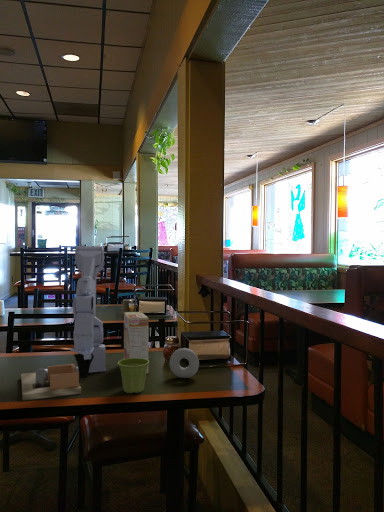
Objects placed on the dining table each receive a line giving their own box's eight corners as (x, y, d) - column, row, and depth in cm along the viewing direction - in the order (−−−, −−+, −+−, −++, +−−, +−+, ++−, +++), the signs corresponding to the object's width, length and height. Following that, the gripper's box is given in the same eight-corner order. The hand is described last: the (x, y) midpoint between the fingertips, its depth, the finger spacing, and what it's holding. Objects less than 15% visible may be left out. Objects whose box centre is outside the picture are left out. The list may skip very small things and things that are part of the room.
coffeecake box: (123, 364, 155) (123, 312, 155) (141, 362, 157) (142, 311, 157) (128, 375, 141) (128, 318, 141) (148, 373, 143) (149, 317, 143)
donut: (199, 377, 139) (199, 347, 139) (198, 380, 136) (198, 349, 136) (170, 376, 140) (170, 346, 140) (168, 379, 137) (168, 348, 137)
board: (71, 373, 142) (71, 368, 142) (81, 393, 122) (81, 387, 122) (21, 378, 136) (21, 373, 136) (22, 400, 116) (22, 394, 116)
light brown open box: (73, 376, 133) (73, 363, 133) (78, 386, 123) (78, 372, 123) (47, 379, 130) (47, 366, 130) (50, 389, 120) (50, 375, 120)
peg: (46, 387, 127) (46, 367, 127) (49, 389, 124) (49, 369, 124) (34, 388, 125) (34, 368, 125) (36, 391, 122) (37, 371, 122)
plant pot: (135, 397, 119) (135, 367, 119) (111, 391, 124) (111, 362, 124) (155, 388, 127) (155, 360, 127) (131, 383, 132) (131, 356, 132)
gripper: (67, 330, 134) (67, 372, 134) (73, 339, 121) (73, 385, 121) (89, 329, 137) (89, 370, 137) (98, 337, 124) (97, 382, 124)
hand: (83, 377), depth 129 cm, fingers closed
